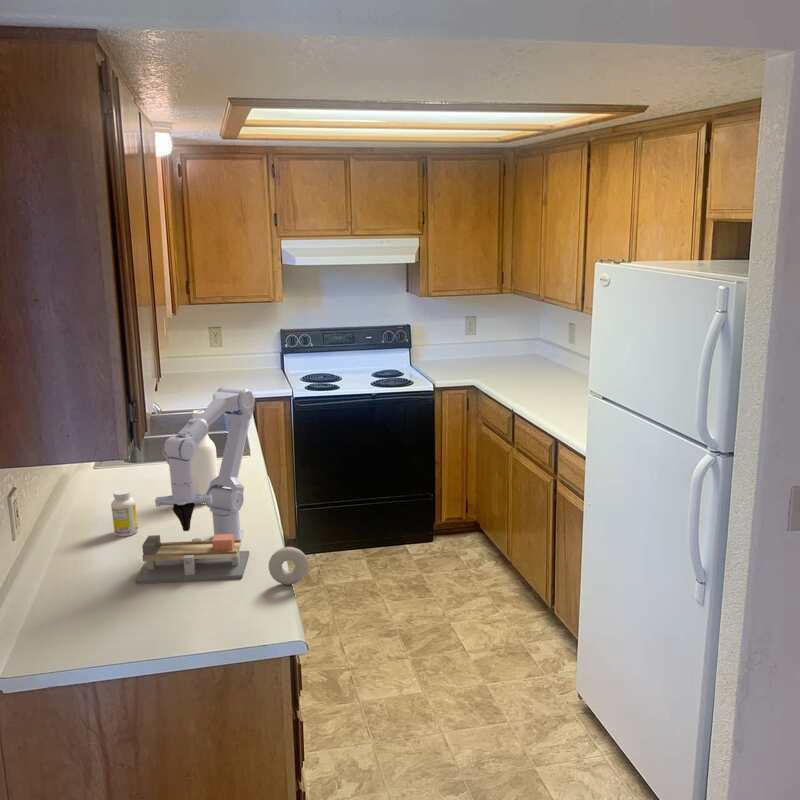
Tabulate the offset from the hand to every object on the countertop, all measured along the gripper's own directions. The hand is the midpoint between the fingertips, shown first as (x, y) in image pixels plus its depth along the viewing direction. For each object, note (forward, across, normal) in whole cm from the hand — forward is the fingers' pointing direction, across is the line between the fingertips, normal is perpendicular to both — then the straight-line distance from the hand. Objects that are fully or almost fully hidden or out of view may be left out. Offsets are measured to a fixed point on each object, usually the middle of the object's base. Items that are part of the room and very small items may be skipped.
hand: (186, 529), depth 213 cm
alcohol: (+10, -4, +48) cm, 49 cm away
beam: (+4, +2, -4) cm, 6 cm away
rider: (+4, +10, -4) cm, 12 cm away
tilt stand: (+9, +2, -4) cm, 10 cm away
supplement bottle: (+10, -23, +23) cm, 34 cm away
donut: (+10, +28, -16) cm, 34 cm away
